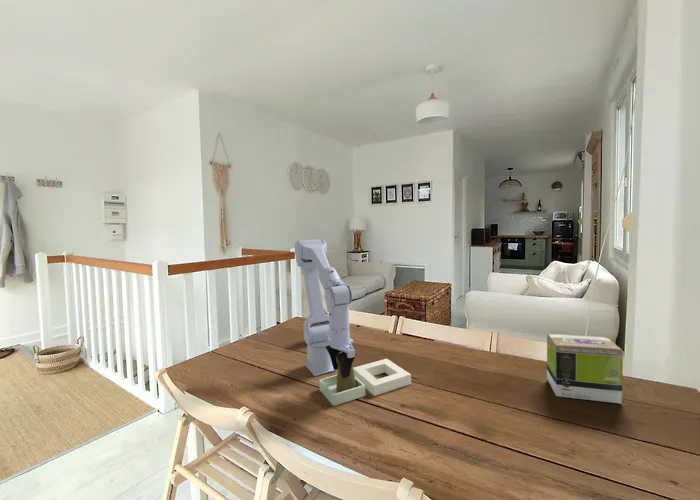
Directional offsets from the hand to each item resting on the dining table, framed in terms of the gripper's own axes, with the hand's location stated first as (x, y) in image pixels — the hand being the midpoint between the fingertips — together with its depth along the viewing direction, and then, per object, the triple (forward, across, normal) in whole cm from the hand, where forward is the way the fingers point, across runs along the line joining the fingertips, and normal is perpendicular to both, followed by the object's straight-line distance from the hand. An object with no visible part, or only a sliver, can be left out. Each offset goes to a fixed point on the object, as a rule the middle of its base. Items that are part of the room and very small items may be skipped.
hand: (341, 372), depth 93 cm
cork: (+6, 0, -1) cm, 6 cm away
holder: (+6, 0, -14) cm, 15 cm away
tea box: (+6, -34, -58) cm, 67 cm away
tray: (+6, 0, 0) cm, 6 cm away
